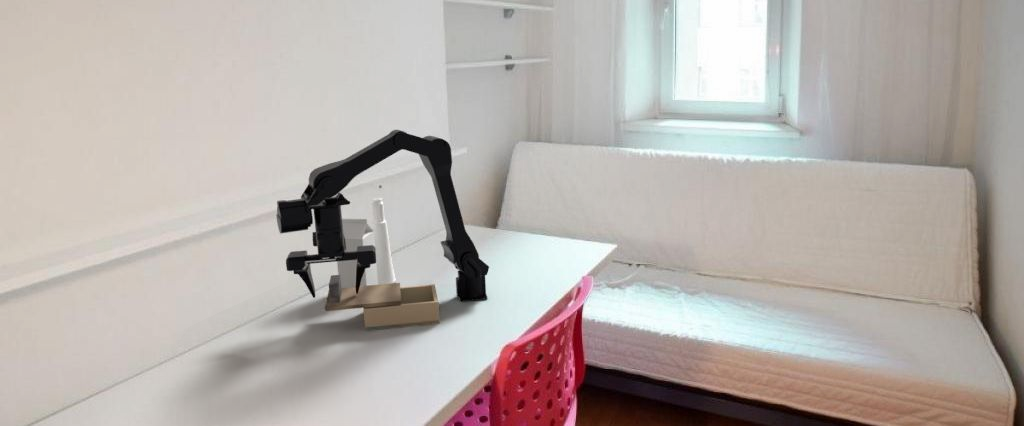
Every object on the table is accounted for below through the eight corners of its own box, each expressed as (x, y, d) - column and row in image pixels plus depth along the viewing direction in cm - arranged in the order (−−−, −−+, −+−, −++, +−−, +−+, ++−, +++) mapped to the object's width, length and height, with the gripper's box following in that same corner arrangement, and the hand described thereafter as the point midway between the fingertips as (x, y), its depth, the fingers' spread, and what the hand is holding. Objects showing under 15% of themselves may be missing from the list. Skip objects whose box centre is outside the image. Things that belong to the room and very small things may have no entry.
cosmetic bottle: (381, 276, 190) (374, 195, 185) (400, 279, 188) (394, 197, 183) (367, 284, 185) (360, 200, 180) (387, 286, 182) (380, 202, 177)
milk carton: (367, 298, 175) (360, 222, 170) (340, 297, 176) (332, 222, 172) (378, 288, 181) (372, 215, 177) (352, 287, 183) (345, 215, 178)
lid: (400, 286, 167) (398, 266, 165) (401, 304, 155) (399, 283, 154) (329, 292, 164) (327, 272, 163) (325, 311, 153) (322, 289, 151)
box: (435, 304, 169) (434, 284, 168) (439, 323, 158) (438, 301, 156) (366, 310, 167) (364, 290, 165) (365, 330, 155) (363, 309, 154)
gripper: (373, 214, 164) (379, 279, 167) (288, 220, 161) (296, 287, 165) (372, 226, 153) (378, 295, 157) (282, 233, 150) (290, 304, 154)
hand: (335, 295), depth 158 cm, fingers open, 9 cm apart
